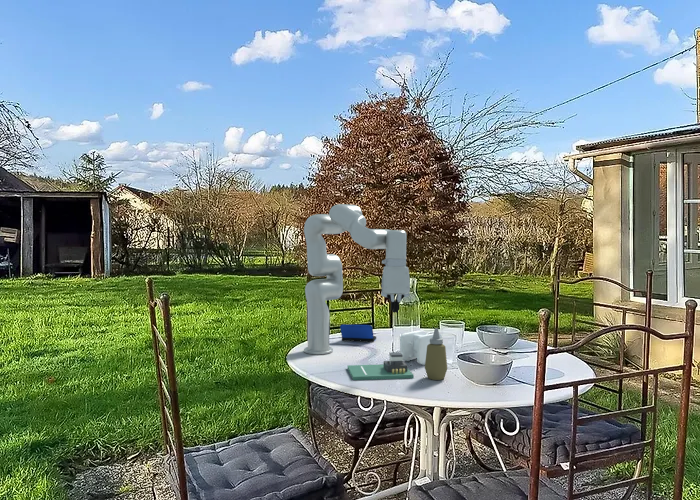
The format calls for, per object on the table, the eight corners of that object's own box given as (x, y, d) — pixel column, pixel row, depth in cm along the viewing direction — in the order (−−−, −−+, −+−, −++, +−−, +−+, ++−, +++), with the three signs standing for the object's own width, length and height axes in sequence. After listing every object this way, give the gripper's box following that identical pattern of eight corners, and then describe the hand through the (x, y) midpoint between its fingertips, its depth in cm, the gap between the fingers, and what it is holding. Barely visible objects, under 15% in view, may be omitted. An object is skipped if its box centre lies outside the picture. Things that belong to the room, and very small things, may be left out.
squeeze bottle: (442, 382, 189) (442, 331, 188) (421, 379, 193) (421, 329, 192) (450, 377, 195) (451, 328, 195) (430, 374, 200) (430, 325, 199)
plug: (389, 368, 203) (389, 352, 202) (400, 368, 203) (400, 352, 203) (391, 371, 199) (391, 355, 198) (402, 371, 199) (402, 354, 199)
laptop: (376, 339, 264) (376, 320, 264) (372, 344, 251) (372, 325, 251) (345, 337, 267) (345, 319, 267) (339, 343, 254) (339, 323, 254)
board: (347, 368, 207) (347, 356, 207) (403, 366, 210) (403, 355, 210) (353, 380, 191) (353, 367, 191) (413, 378, 194) (413, 365, 194)
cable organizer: (418, 367, 210) (418, 337, 210) (398, 362, 218) (398, 333, 217) (442, 360, 220) (442, 332, 220) (422, 356, 228) (422, 328, 227)
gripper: (377, 264, 196) (377, 313, 197) (417, 264, 198) (416, 313, 199) (374, 262, 204) (373, 310, 205) (413, 262, 205) (412, 310, 206)
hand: (394, 311), depth 202 cm, fingers closed
